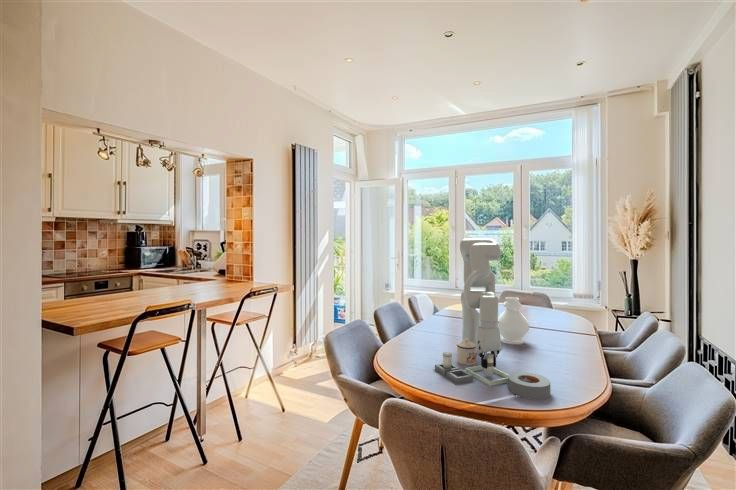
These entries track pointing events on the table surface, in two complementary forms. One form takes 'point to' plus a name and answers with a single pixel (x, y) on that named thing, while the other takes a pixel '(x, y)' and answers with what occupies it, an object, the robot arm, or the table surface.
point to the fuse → (447, 360)
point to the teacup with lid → (466, 352)
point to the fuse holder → (454, 374)
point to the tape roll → (529, 385)
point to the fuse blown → (489, 364)
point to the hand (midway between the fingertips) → (488, 366)
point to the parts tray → (490, 383)
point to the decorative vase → (512, 322)
